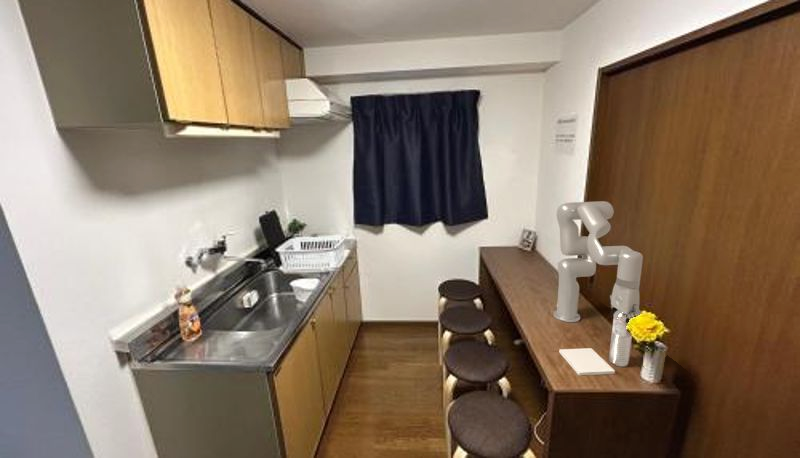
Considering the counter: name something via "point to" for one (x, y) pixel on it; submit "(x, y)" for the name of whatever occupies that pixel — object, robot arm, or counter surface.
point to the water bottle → (620, 340)
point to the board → (586, 361)
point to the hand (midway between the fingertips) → (622, 323)
